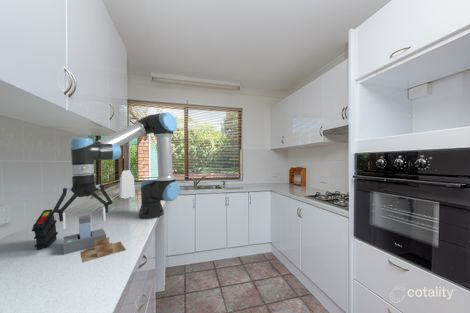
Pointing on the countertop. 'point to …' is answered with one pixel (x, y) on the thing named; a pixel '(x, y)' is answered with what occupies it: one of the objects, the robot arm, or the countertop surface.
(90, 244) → the port box
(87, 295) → the countertop surface
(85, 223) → the plug
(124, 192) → the milk
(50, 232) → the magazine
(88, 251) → the holster
